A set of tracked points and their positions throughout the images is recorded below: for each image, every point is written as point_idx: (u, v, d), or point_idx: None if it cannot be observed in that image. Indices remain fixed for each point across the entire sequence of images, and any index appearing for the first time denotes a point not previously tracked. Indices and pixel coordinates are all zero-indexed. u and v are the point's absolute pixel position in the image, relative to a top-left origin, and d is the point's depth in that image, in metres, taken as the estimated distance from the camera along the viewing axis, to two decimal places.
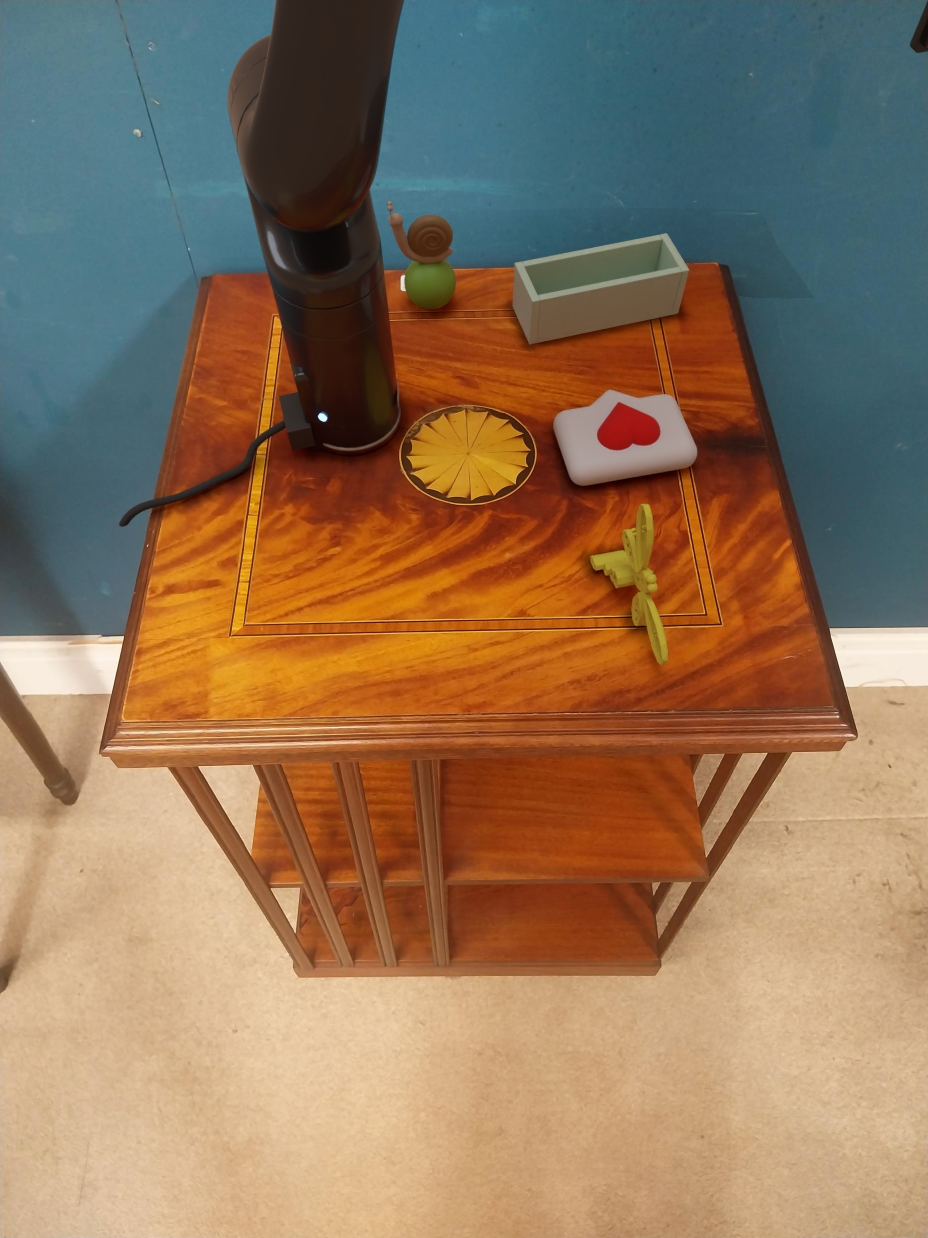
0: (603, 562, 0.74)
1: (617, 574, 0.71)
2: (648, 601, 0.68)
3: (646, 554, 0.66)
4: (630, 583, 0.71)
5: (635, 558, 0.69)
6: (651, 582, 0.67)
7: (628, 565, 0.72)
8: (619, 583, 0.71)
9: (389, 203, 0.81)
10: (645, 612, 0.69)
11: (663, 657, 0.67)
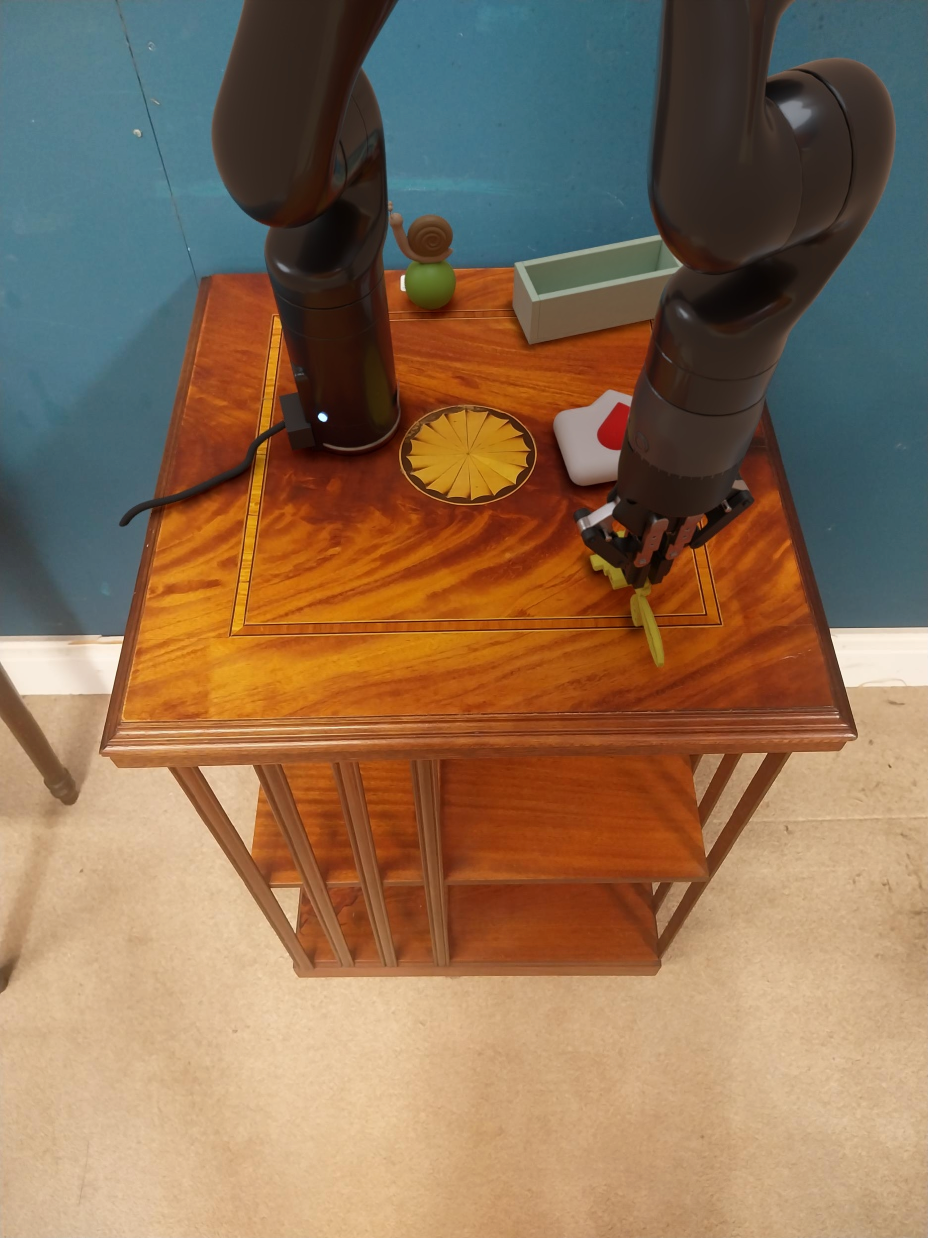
0: (602, 562, 0.74)
1: (613, 576, 0.70)
2: (643, 604, 0.68)
3: None
4: (627, 584, 0.71)
5: None
6: None
7: None
8: (616, 585, 0.71)
9: (389, 203, 0.81)
10: (642, 614, 0.69)
11: (659, 660, 0.67)
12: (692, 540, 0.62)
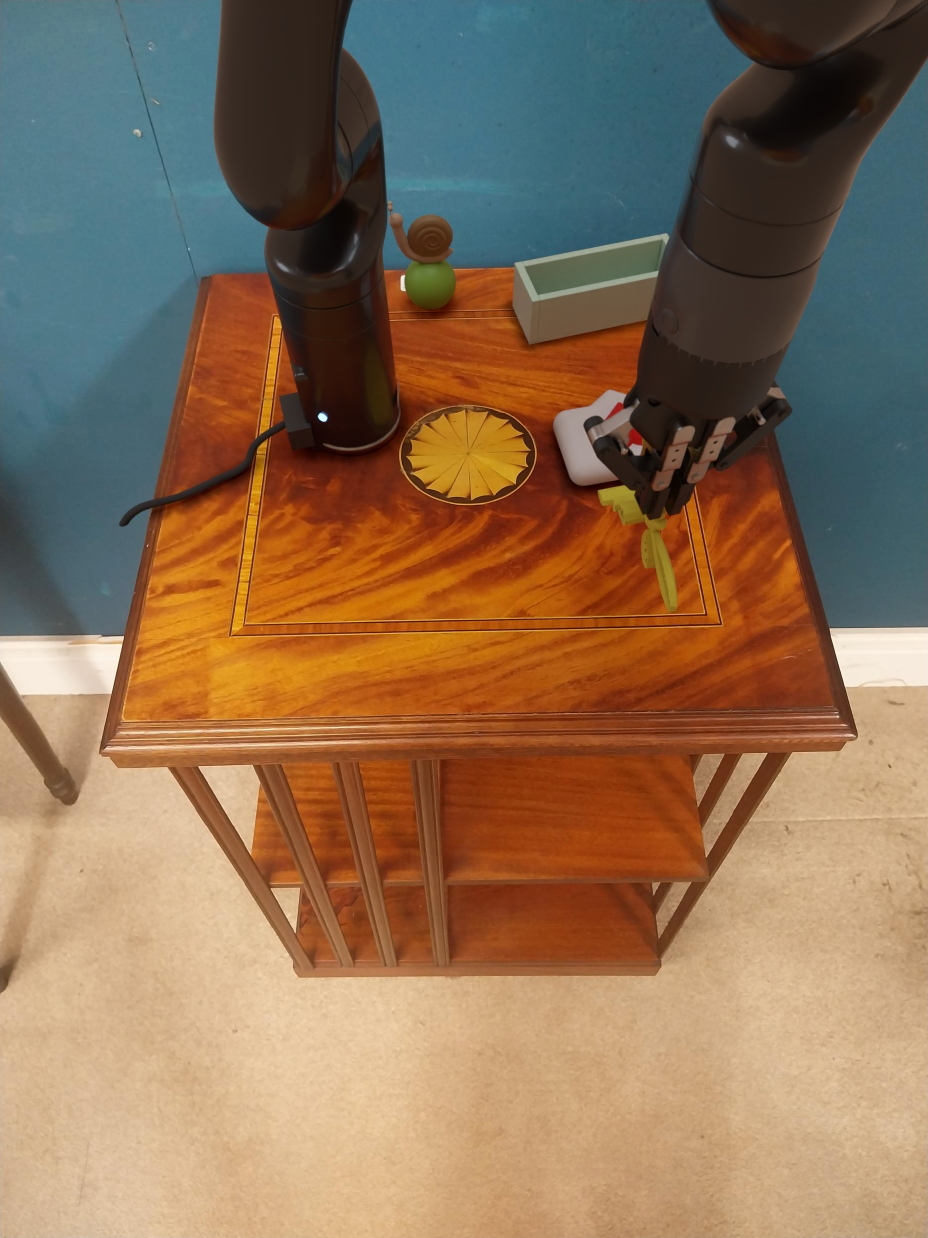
0: (611, 497, 0.66)
1: (624, 509, 0.63)
2: (656, 539, 0.60)
3: None
4: (639, 520, 0.63)
5: None
6: None
7: None
8: (626, 520, 0.63)
9: (389, 203, 0.81)
10: (654, 552, 0.61)
11: (671, 603, 0.59)
12: (718, 460, 0.54)
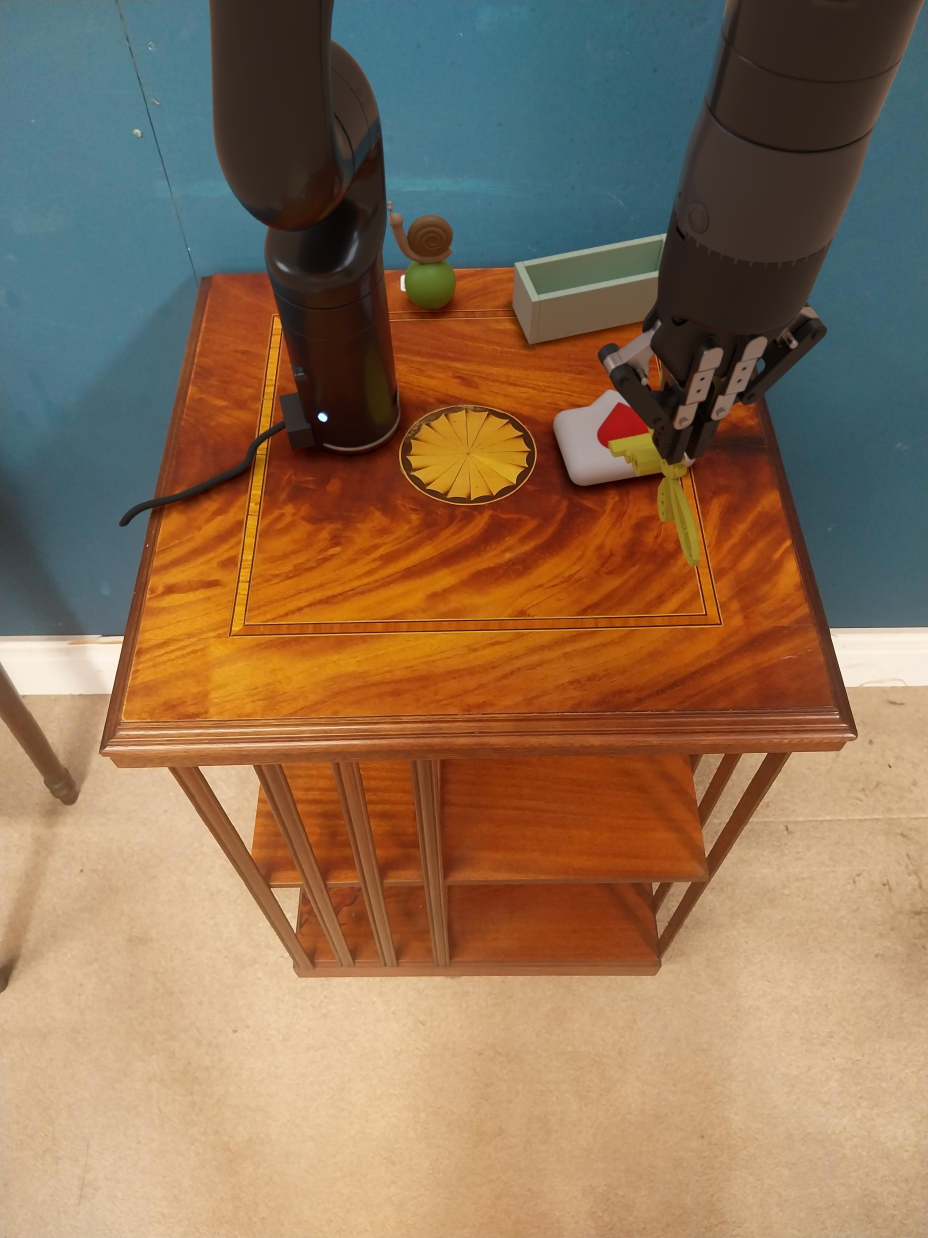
0: (623, 447, 0.61)
1: (638, 458, 0.58)
2: (676, 488, 0.55)
3: None
4: (655, 469, 0.58)
5: None
6: (678, 463, 0.54)
7: (653, 448, 0.59)
8: (641, 469, 0.58)
9: (389, 203, 0.81)
10: (673, 503, 0.56)
11: (694, 555, 0.54)
12: (745, 392, 0.49)
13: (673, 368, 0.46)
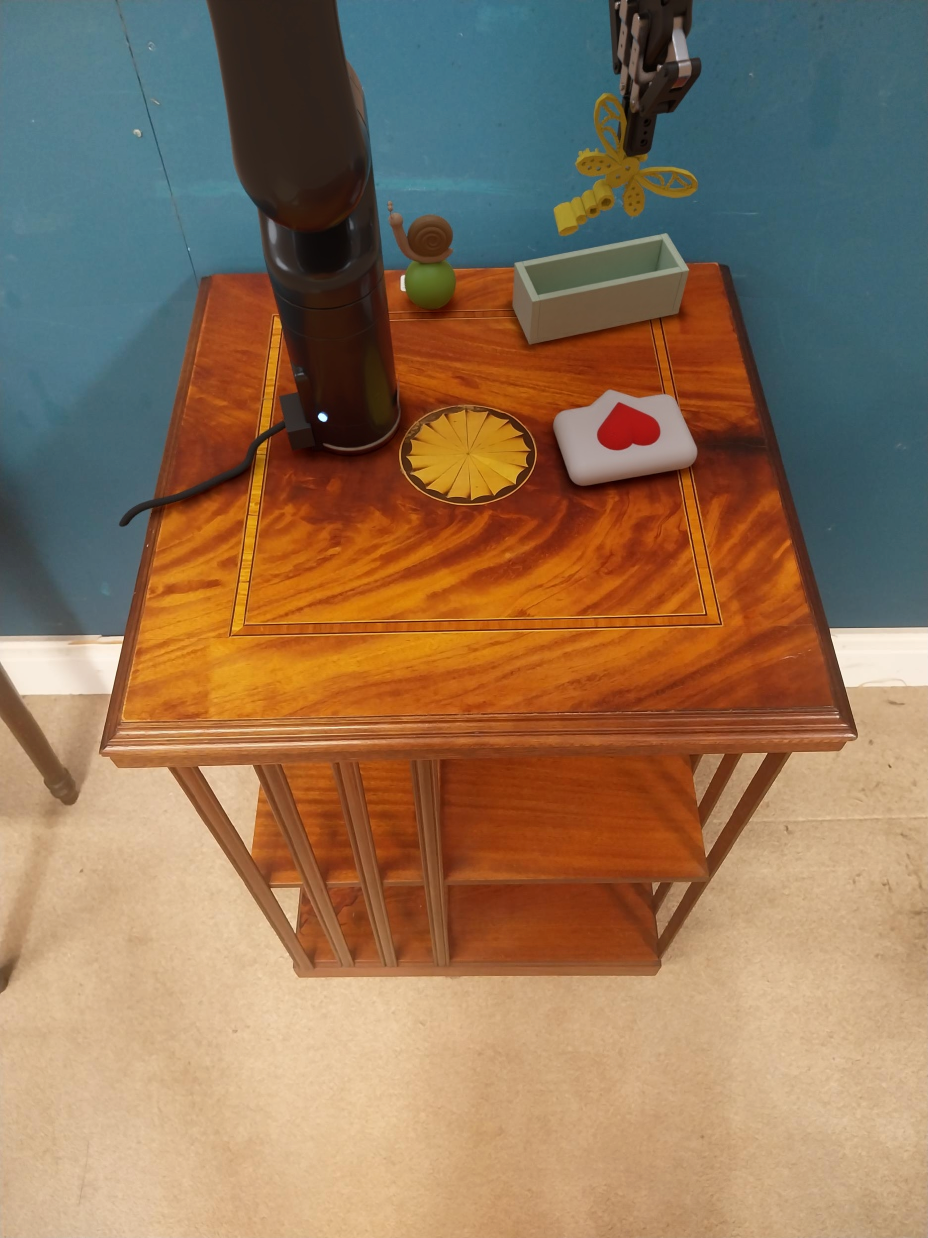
0: (572, 219, 0.73)
1: (607, 194, 0.71)
2: (647, 170, 0.71)
3: None
4: (612, 191, 0.72)
5: (611, 159, 0.70)
6: None
7: (586, 194, 0.73)
8: None
9: (389, 203, 0.81)
10: (645, 186, 0.72)
11: (696, 180, 0.73)
12: None
13: None
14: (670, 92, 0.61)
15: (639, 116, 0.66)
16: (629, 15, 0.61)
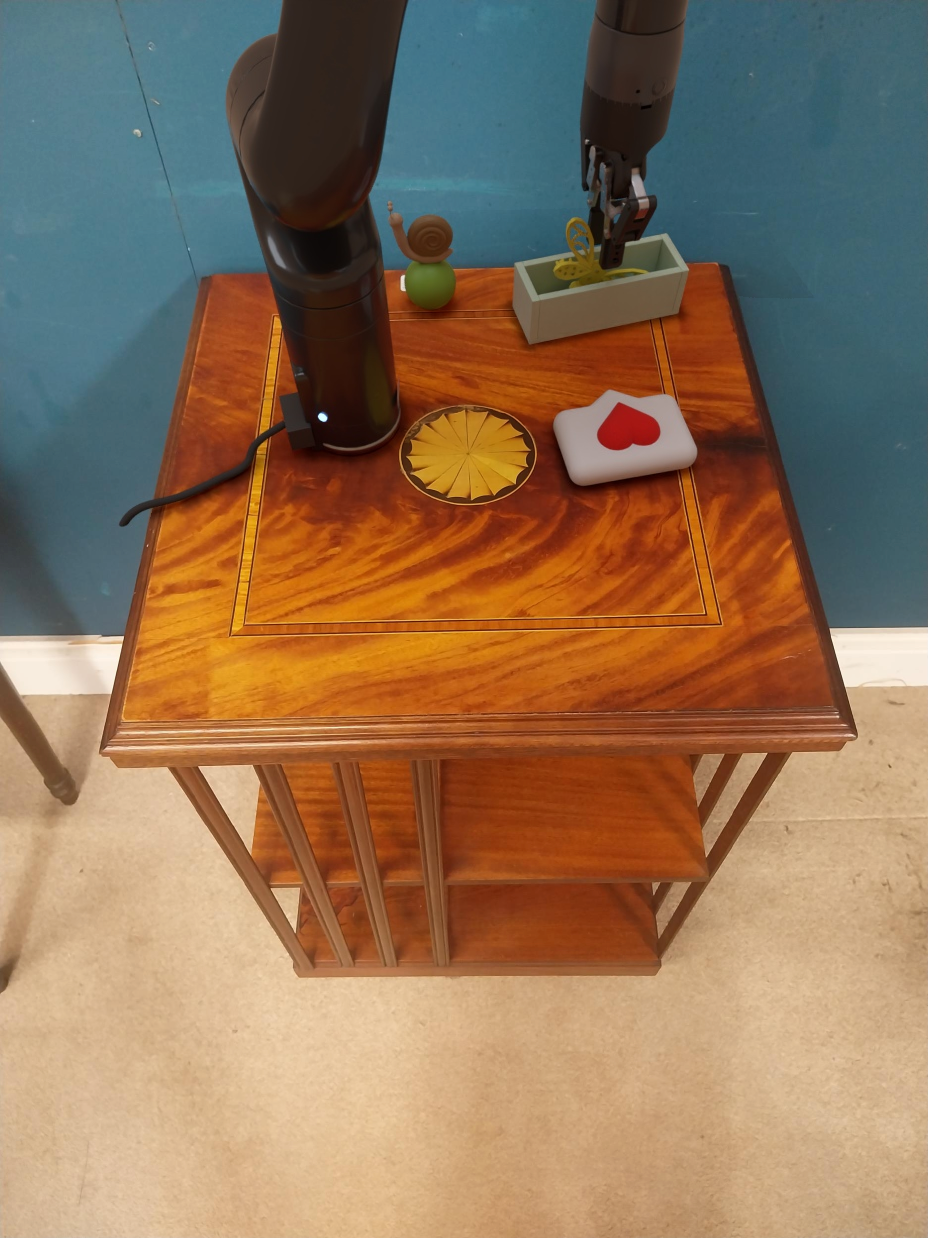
0: None
1: None
2: (612, 272, 0.87)
3: (593, 246, 0.84)
4: None
5: (583, 266, 0.85)
6: None
7: None
8: None
9: (389, 203, 0.81)
10: None
11: None
12: None
13: None
14: (634, 223, 0.75)
15: (611, 241, 0.80)
16: (597, 160, 0.76)
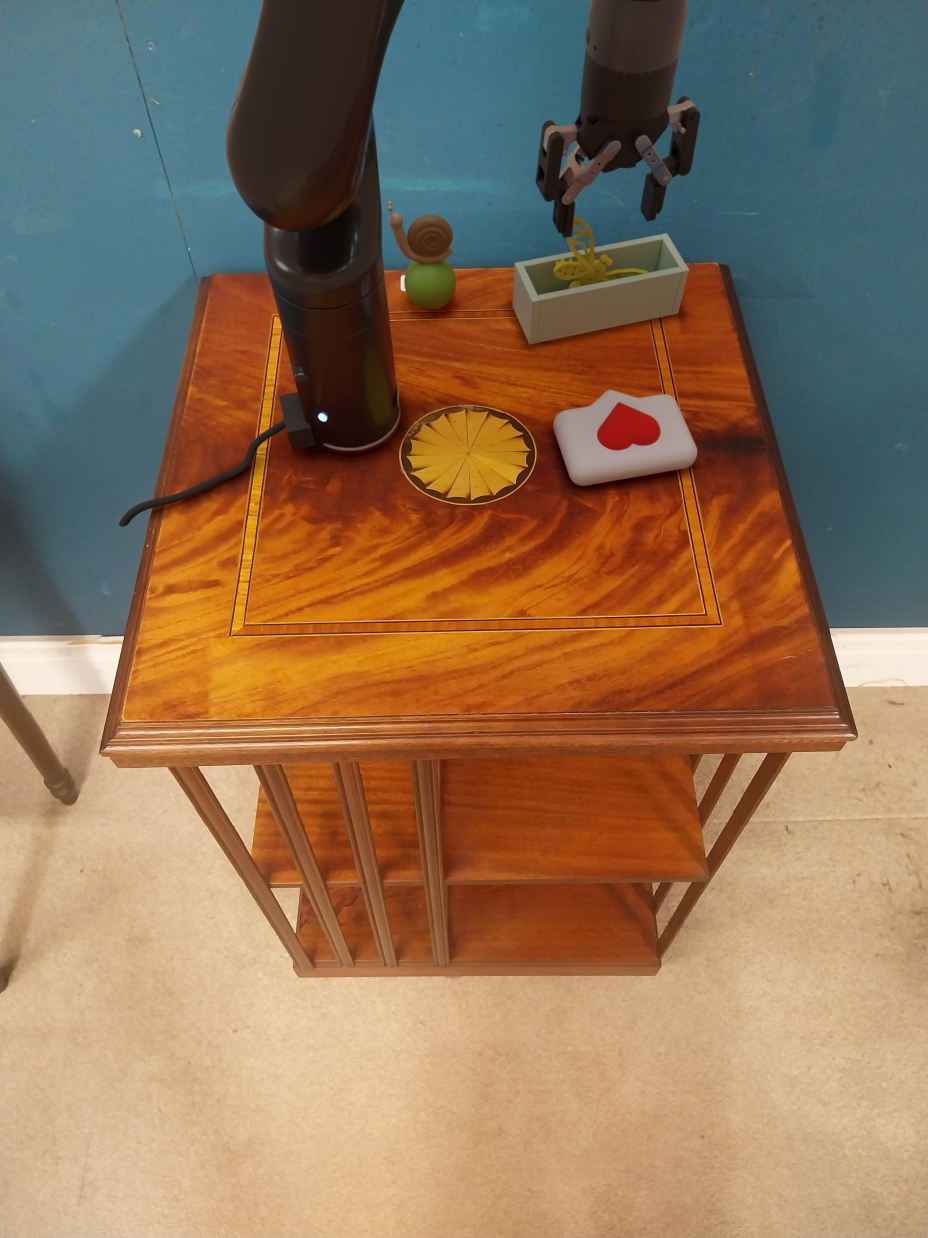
0: None
1: None
2: (612, 272, 0.87)
3: (593, 246, 0.84)
4: None
5: (583, 266, 0.85)
6: (607, 258, 0.85)
7: None
8: None
9: (389, 203, 0.81)
10: None
11: None
12: None
13: None
14: None
15: None
16: None
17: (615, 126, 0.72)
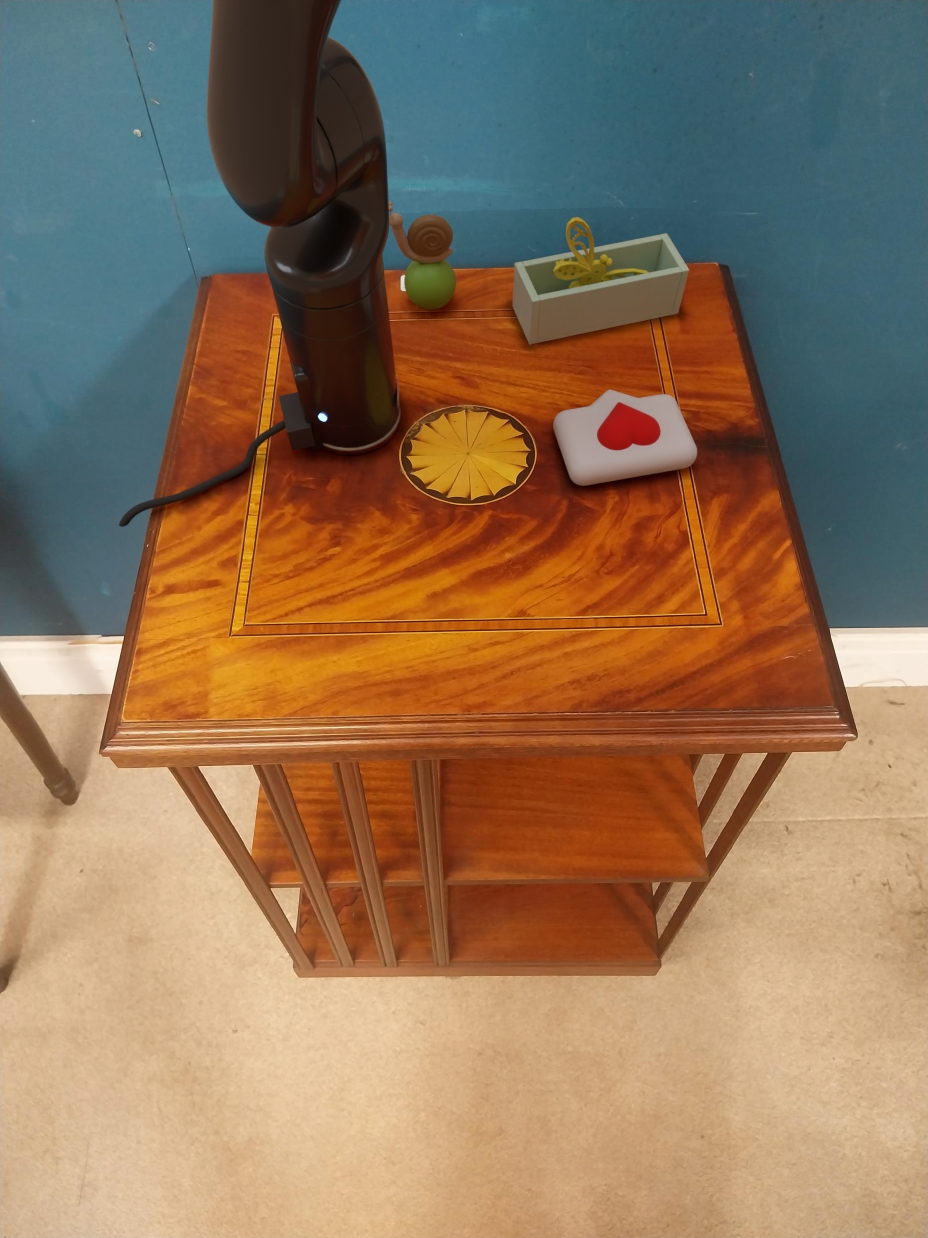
0: None
1: None
2: (612, 272, 0.87)
3: (593, 246, 0.84)
4: None
5: (583, 266, 0.85)
6: (607, 258, 0.85)
7: None
8: None
9: (389, 203, 0.81)
10: None
11: None
12: None
13: None
14: None
15: None
16: None
17: None
